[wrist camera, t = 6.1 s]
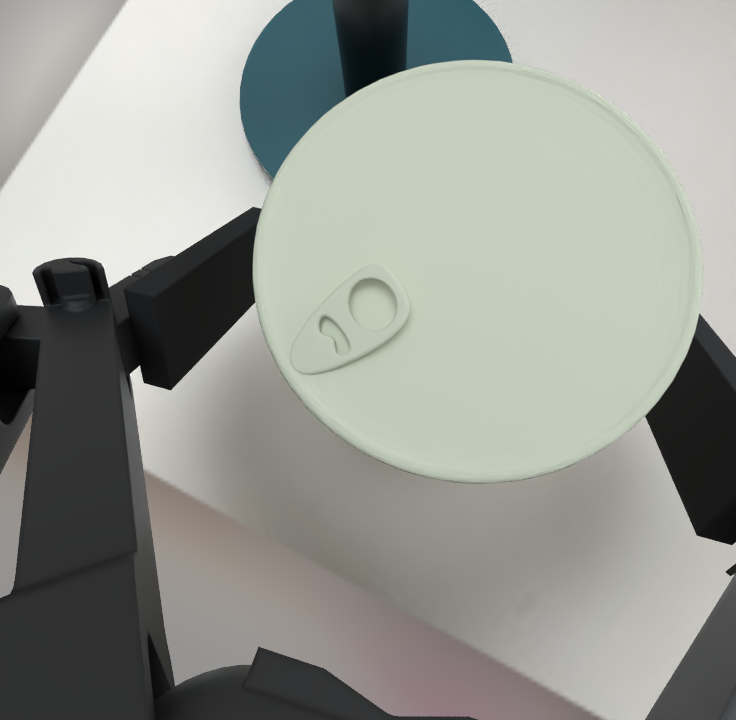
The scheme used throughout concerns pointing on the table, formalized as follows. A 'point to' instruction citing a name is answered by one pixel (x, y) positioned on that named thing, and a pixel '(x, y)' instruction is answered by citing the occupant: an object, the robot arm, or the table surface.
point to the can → (477, 271)
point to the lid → (347, 59)
